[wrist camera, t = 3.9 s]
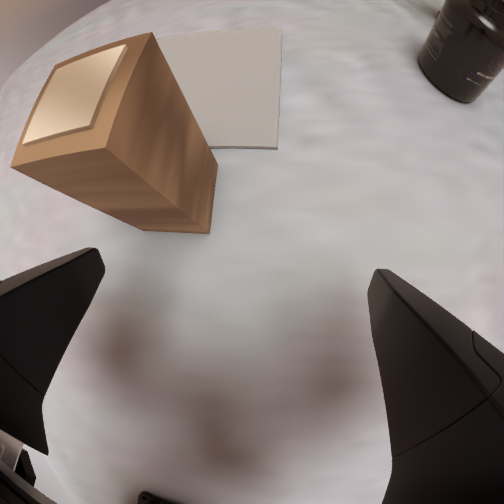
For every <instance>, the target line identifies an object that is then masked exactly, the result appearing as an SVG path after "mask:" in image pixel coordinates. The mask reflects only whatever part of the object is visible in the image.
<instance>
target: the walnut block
mask: <svg viewBox="0 0 504 504" xmlns="http://www.w3.org/2000/svg"><path fill="white" fill-rule="evenodd" d="M11 168H13V169H15V170H17V171H19V172H21V173H23V174H25V175H27V176H29V177H31V178H33V179H35V180H37V181H39V182H41V183H43V184H45V185H47V186H49V187H51V188H53V189H55V190H57V191H59V192H61V193H63V194H65V195H68V196H70V197H72V198H74V199H76V200H78V201H80V202H82V203H84V204H86V205H89V206H91V207H93V208H95V209H97V210H99V211H101V212H104V213H106V214H108V215H110V216H112V217H114V218H117V219H119V220H121V221H123V222H125V223H127V224H130V225H132V226H134V227H136V228H138V229H141V230H143V231H162V232H182V233H202V234H210V226H211V217H212V208H213V199H214V191H215V183H216V175H217V168H218V164H217V162H216V160H215V158H214V156H213V154H212V152H211V150H210V148H209V146H208V144H207V142H206V140H205V138H204V135H203V133H202V131H201V129H200V127H199V125H198V123H197V121H196V119H195V117H194V115H193V113H192V111H191V109H190V107H189V105H188V103H187V101H186V99H185V97H184V95H183V93H182V91H181V89H180V87H179V85H178V83H177V81H176V79H175V77H174V75H173V73H172V71H171V69H170V67H169V65H168V63H167V61H166V59H165V57H164V55H163V53H162V51H161V49H160V47H159V45H158V43H157V41H156V39H155V37H154V35H153V33H152V32H150V33H146V34H142V35H138V36H134V37H130V38H127V39H123V40H120V41H117V42H113V43H110V44H107V45H104V46H101V47H98V48H96V49H93V50H90V51H88V52H85V53H82V54H80V55H77V56H75V57H73V58H70V59H68V60H66V61H63V62H61V63H59V64H57V65H55V67H54V68H53V70H52V72H51V74H50V75H49V77H48V79H47V81H46V83H45V84H44V86H43V88H42V90H41V92H40V94H39V96H38V98H37V100H36V102H35V105H34V107H33V109H32V111H31V113H30V116H29V118H28V120H27V123H26V125H25V127H24V130H23V132H22V135H21V138H20V140H19V143H18V146H17V148H16V151H15V154H14V157H13V160H12V163H11Z"/></svg>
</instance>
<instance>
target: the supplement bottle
mask: <svg viewBox="0 0 504 504" xmlns="http://www.w3.org/2000/svg"><path fill="white" fill-rule="evenodd" d="M419 61H420V65H421V67H422V69H423V71H424V72H425V74H426V75H427V77H428V78H429V79H430V80H431V81H432V82H433V83H434V84H435V85H436V86H437V87H438V88H439V89H440V90H442V91H443V92H444V93H446V94H447V95H449V96H450V97H452V98H454V99H456V100H459V101H462V102H472V101H474V100H475V99H476V98H477V97H478V96H479V95H480V94H481V93H482V92H483V91H484V90H485V89H486V88H487V87H488V85H489V84H490V83H491V82H492V81H493V80H494V79H495V78H496V76H497V75H498V74H499V73H500V72H501V71H502V69H503V68H504V0H446V1H445V3H444V5H443V7H442V9H441V11H440V13H439V15H438V17H437V19H436V21H435V23H434V25H433V27H432V29H431V31H430V33H429V35H428V37H427V39H426V41H425V43H424V45H423V47H422V49H421V51H420V54H419Z"/></svg>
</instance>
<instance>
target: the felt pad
mask: <svg viewBox="0 0 504 504" xmlns="http://www.w3.org/2000/svg"><path fill="white" fill-rule="evenodd" d="M156 41H157V43H158V45H159V47H160V49H161V51H162V53H163V55H164V57H165V59H166V61H167V63H168V65H169V67H170V69H171V71H172V73H173V75H174V77H175V79H176V81H177V83H178V85H179V87H180V89H181V91H182V93H183V95H184V97H185V99H186V101H187V103H188V105H189V107H190V109H191V111H192V113H193V115H194V117H195V119H196V121H197V123H198V125H199V127H200V129H201V131H202V133H203V135H204V138H205V140H206V142H207V144H208V146H209V148H256V149H277V144H278V123H279V100H280V74H281V42H282V29H232V30H218V31H208V32H199V33H192V34H185V35H179V36H173V37H167V38H162V39H157V40H156Z"/></svg>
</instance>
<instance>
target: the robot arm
mask: <svg viewBox="0 0 504 504" xmlns="http://www.w3.org/2000/svg"><path fill="white" fill-rule="evenodd" d="M104 274H105V265H104V263H103V260H102V258H101V255H100V253H99V251H98V249H96V248H90V247H88V248H85V249H82V250H79V251H76V252H73V253H71V254H68V255H65V256H63V257H60V258H57V259H55V260H52V261H49V262H47V263H44V264H42V265H39V266H36V267H34V268H31V269H29V270H26V271H24V272H21V273H19V274H17V275H14V276H12V277H9V278H7V279H5V280H3V281H0V504H57V503H55V502H54V501H52V500H50V499H49V498H48V497H46V496H45V495H44V494H42V493H41V492H39V491H38V490H37V489H35V488H34V483H35V480H36V476H35V473H34V470H33V467H32V465H31V461H30V458H29V455H28V452H27V451H26V450H25V449H23V448H22V447H23V444H26V445H28V446H29V447H31V448H34V449H35V450H37V451H39V452H41V453H43V454H45V455H48V453H49V450H48V445H47V440H46V434H45V428H44V422H43V415H42V403H43V399H44V396H45V394H46V392H47V390H48V387H49V385H50V383H51V380H52V378H53V376H54V374H55V372H56V369H57V367H58V365H59V363H60V361H61V359H62V357H63V355H64V353H65V351H66V349H67V347H68V345H69V343H70V341H71V339H72V337H73V335H74V333H75V331H76V329H77V327H78V325H79V324H80V322H81V320H82V318H83V316H84V315H85V313H86V311H87V309H88V307H89V305H90V304H91V301H92V299H93V297H94V295H95V293H96V291H97V288H98V286H99V284H100V282H101V280H102V278H103V276H104ZM368 304H369V312H370V321H371V330H372V337H373V342H374V347H375V351H376V356H377V361H378V366H379V371H380V376H381V382H382V387H383V393H384V399H385V406H386V412H387V419H388V427H389V435H390V444H391V453H392V473H391V477H390V480H389V484H388V487H387V490H386V493H385V496H384V499H383V502H382V504H504V353H502V352H501V351H500V350H498V349H497V348H496V347H494V346H493V345H492V344H490V343H489V342H488V341H487V340H485V339H484V338H483V337H481V336H480V335H479V334H478V333H476V332H475V331H472V330H471V329H470V328H469V327H468V326H467V325H465V324H464V323H463V322H461V321H460V320H459V319H457V318H456V317H455V316H453V315H452V314H451V313H449V312H448V311H447V310H445V309H444V308H443V307H441V306H440V305H439V304H437V303H436V302H434V301H433V300H432V299H430V298H429V297H427V296H426V295H425V294H423V293H422V292H420V291H419V290H418V289H416V288H415V287H413V286H412V285H410V284H409V283H408V282H406V281H405V280H403V279H402V278H400V277H399V276H397V275H396V274H394V273H393V272H391V271H390V270H388V269H376V270H375V272H374V274H373V277H372V280H371V283H370V285H369V288H368ZM137 504H172V503H169V502H167V501H164V500H162V499H160V498H158V497H155V496H153V495H151V494H149V493H146V492H141V493H140V495H139V498H138V503H137Z"/></svg>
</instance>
